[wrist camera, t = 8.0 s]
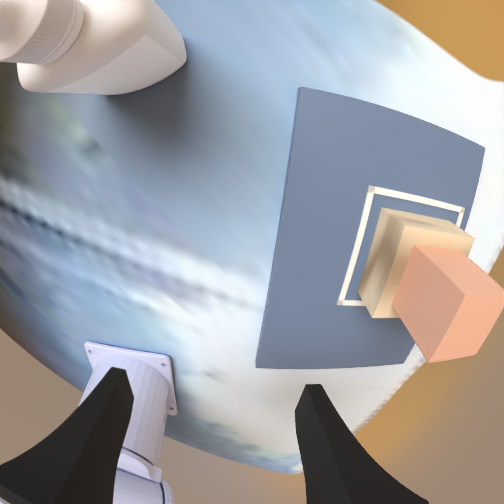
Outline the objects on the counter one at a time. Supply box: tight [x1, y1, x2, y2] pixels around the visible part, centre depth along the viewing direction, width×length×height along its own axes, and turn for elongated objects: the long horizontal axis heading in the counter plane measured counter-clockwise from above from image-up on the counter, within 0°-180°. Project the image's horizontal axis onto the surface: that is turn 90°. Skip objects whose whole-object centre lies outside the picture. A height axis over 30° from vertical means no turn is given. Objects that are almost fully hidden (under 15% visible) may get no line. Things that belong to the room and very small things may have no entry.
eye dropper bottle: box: [0, 0, 187, 95], centre depth 7 cm, size 4×6×12 cm
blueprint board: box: [256, 87, 485, 369], centre depth 18 cm, size 20×14×1 cm
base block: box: [357, 207, 475, 318], centre depth 16 cm, size 6×6×3 cm
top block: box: [391, 245, 504, 363], centre depth 13 cm, size 4×4×5 cm
